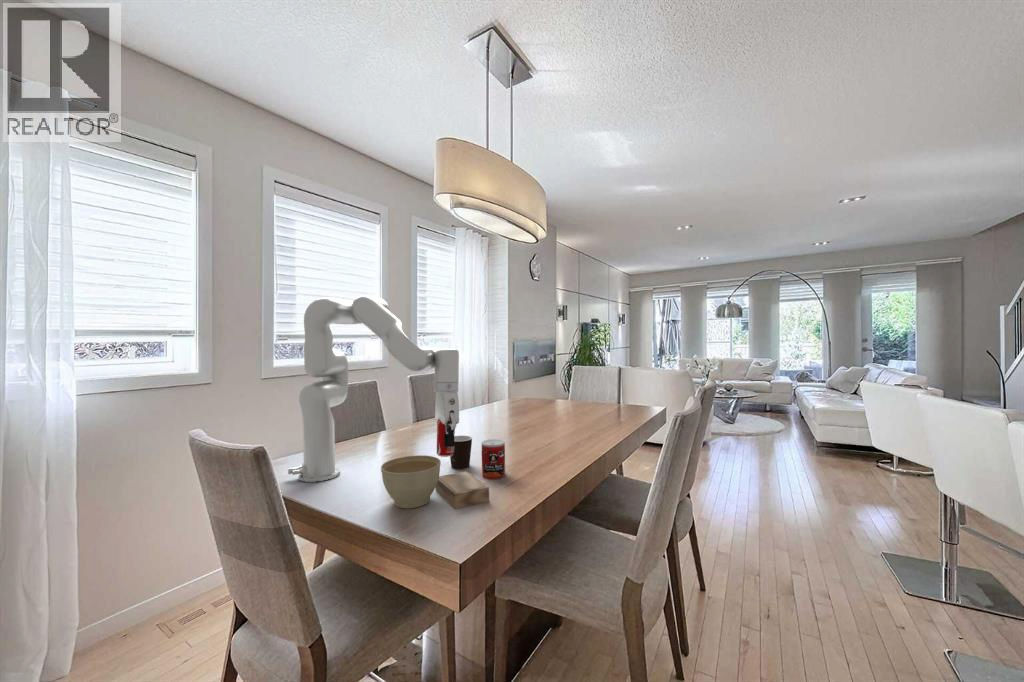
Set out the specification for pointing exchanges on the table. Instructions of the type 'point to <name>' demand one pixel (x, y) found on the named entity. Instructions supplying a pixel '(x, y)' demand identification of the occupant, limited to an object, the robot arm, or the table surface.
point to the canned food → (493, 458)
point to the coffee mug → (461, 452)
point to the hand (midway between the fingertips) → (445, 443)
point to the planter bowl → (411, 479)
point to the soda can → (442, 441)
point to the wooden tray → (462, 489)
